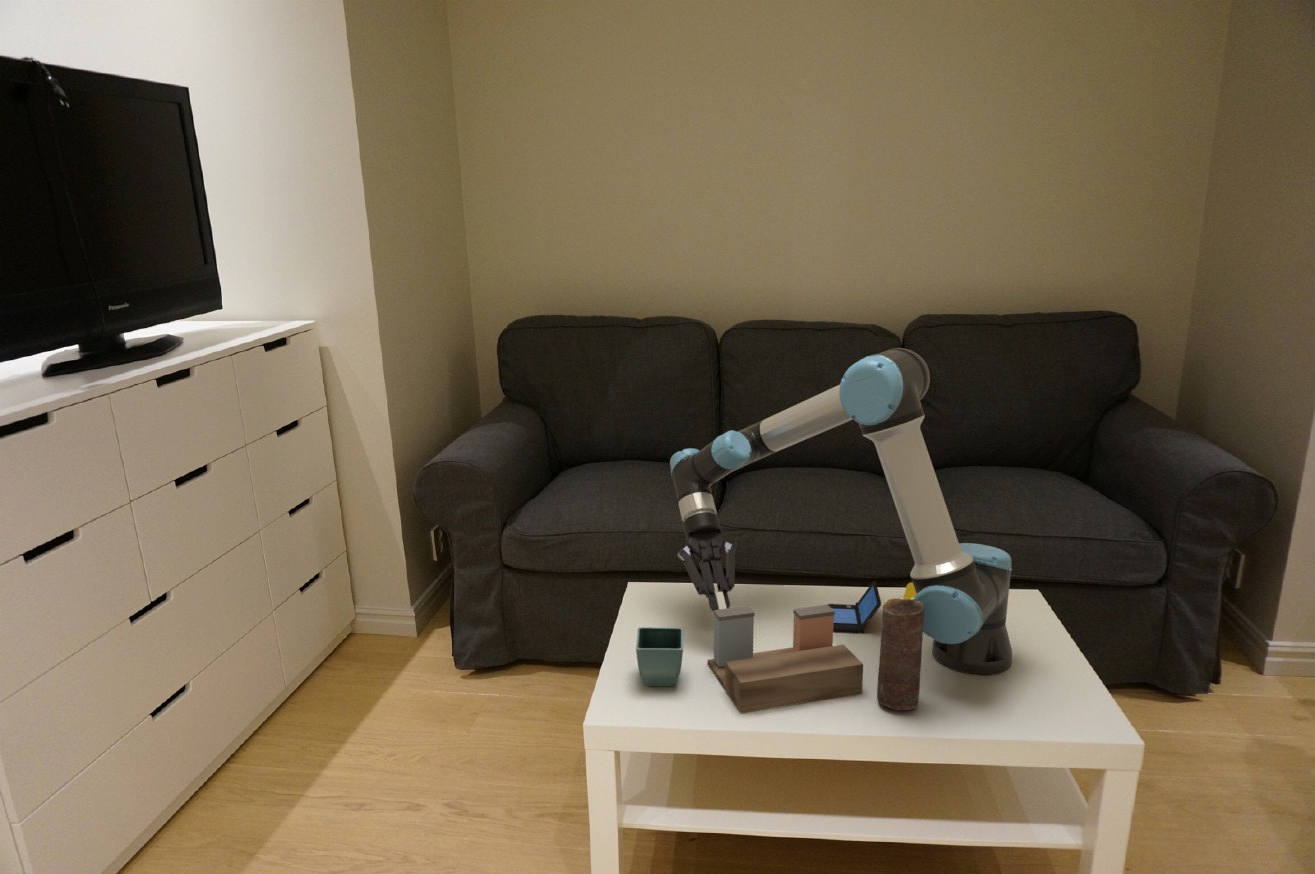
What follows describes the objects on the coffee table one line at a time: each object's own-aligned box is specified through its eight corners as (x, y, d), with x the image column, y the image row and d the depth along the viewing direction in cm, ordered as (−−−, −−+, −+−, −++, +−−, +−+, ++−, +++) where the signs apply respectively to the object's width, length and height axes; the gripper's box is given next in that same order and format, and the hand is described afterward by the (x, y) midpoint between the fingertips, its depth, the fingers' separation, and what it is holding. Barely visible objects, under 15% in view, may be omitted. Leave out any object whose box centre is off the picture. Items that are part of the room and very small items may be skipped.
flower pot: (683, 692, 171) (683, 648, 169) (636, 692, 172) (635, 648, 169) (683, 669, 180) (683, 627, 178) (638, 668, 180) (637, 627, 178)
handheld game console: (825, 608, 207) (826, 577, 205) (874, 610, 205) (875, 579, 203) (827, 633, 195) (829, 601, 193) (879, 636, 193) (881, 603, 191)
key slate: (713, 659, 181) (713, 610, 178) (747, 654, 182) (748, 605, 180) (718, 667, 178) (719, 617, 175) (753, 662, 179) (754, 612, 177)
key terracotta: (791, 658, 181) (793, 609, 178) (825, 653, 183) (827, 604, 180) (798, 666, 178) (800, 616, 175) (832, 661, 180) (834, 611, 177)
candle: (910, 720, 161) (917, 616, 156) (870, 708, 165) (875, 606, 160) (923, 701, 168) (930, 600, 163) (884, 690, 172) (890, 591, 166)
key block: (707, 664, 182) (707, 636, 180) (819, 648, 188) (820, 621, 186) (740, 713, 164) (740, 683, 163) (861, 693, 170) (863, 664, 169)
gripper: (724, 523, 199) (750, 627, 188) (666, 529, 196) (689, 635, 184) (733, 507, 193) (760, 614, 181) (673, 513, 189) (697, 622, 178)
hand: (724, 624), depth 183 cm, fingers closed
